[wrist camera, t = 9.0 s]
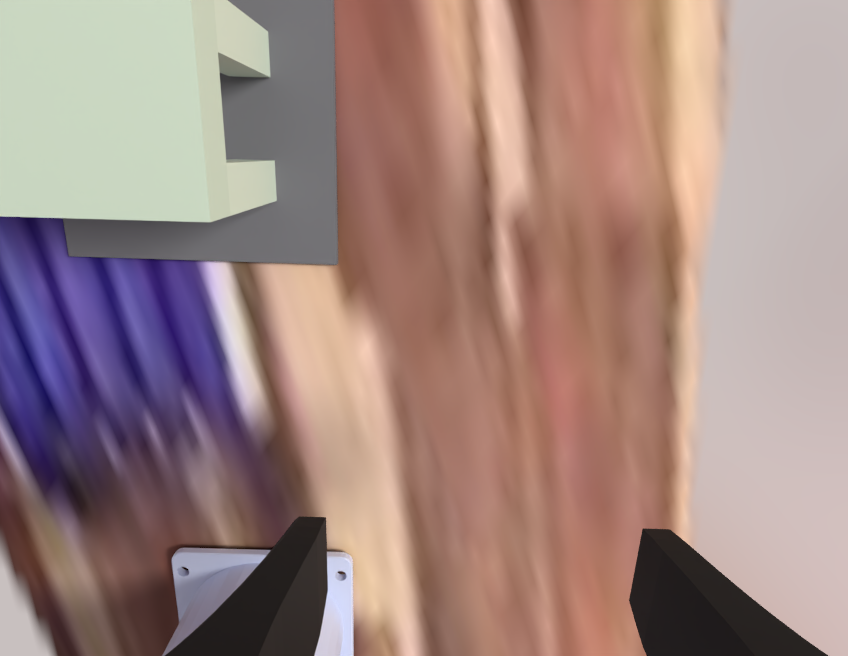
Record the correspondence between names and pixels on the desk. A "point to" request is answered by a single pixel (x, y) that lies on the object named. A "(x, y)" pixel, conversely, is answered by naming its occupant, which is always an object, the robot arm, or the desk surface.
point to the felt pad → (259, 157)
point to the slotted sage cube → (125, 110)
